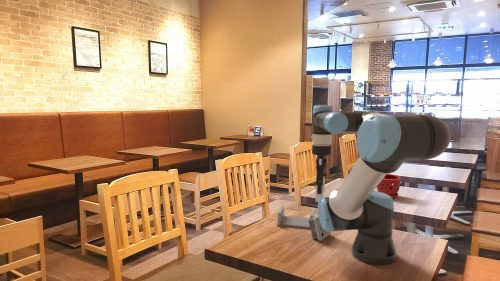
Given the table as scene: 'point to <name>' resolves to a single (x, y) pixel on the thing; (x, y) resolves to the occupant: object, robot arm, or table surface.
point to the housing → (294, 220)
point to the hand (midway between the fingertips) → (320, 196)
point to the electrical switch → (317, 229)
